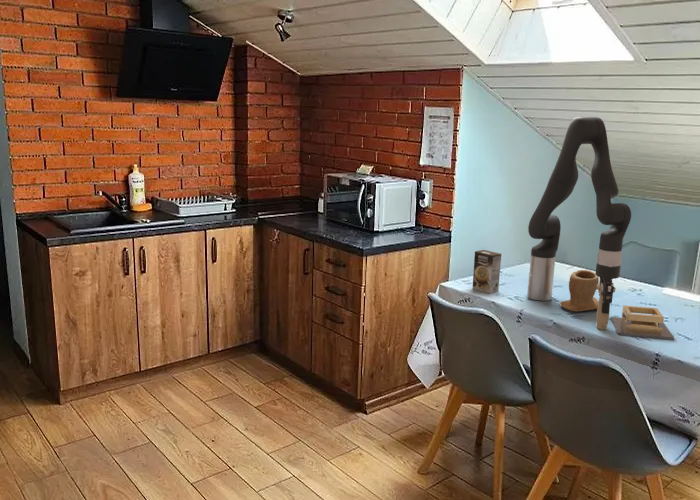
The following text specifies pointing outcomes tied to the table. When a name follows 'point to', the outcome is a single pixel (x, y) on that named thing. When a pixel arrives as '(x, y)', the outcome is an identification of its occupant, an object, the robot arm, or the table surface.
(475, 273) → the coffee box
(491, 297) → the table surface
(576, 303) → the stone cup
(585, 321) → the table surface
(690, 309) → the table surface
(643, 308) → the collar stand
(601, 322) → the handle
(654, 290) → the table surface
